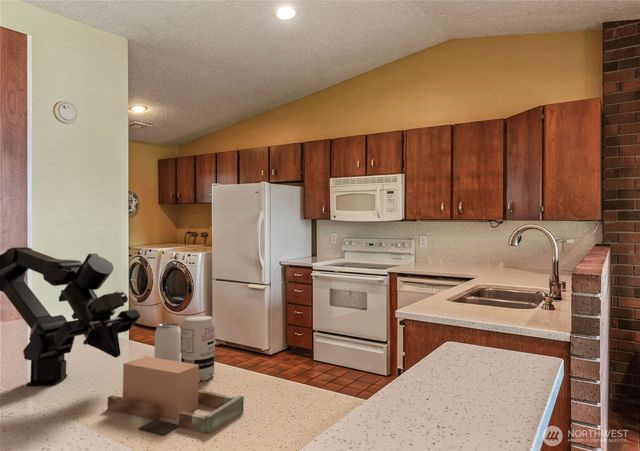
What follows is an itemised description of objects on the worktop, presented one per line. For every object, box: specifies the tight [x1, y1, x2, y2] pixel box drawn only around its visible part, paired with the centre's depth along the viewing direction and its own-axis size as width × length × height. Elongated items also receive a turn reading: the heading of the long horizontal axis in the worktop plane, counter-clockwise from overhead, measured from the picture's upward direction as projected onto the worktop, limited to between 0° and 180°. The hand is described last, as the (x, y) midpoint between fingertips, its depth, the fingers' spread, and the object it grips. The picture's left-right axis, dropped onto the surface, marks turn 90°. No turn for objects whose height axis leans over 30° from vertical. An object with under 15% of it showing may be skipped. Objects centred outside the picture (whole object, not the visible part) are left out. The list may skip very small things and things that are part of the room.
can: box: [153, 322, 182, 362], centre depth 111 cm, size 6×6×12 cm
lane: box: [107, 389, 245, 436], centre depth 86 cm, size 26×19×3 cm
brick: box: [122, 356, 200, 420], centre depth 87 cm, size 15×6×9 cm, turn 67°
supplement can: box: [180, 315, 216, 381], centre depth 106 cm, size 8×8×15 cm
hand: (118, 356), depth 93 cm, fingers closed
